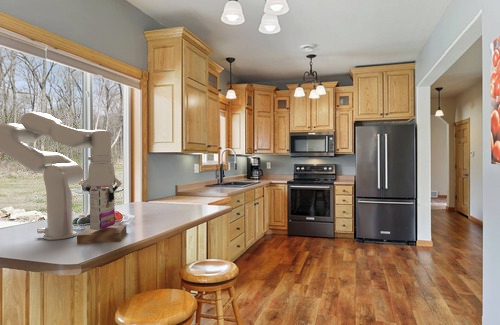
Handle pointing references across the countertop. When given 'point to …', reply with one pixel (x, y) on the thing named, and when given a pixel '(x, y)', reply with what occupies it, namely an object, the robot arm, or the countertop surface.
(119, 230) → the walnut block
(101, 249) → the countertop surface
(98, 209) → the candy bar box
